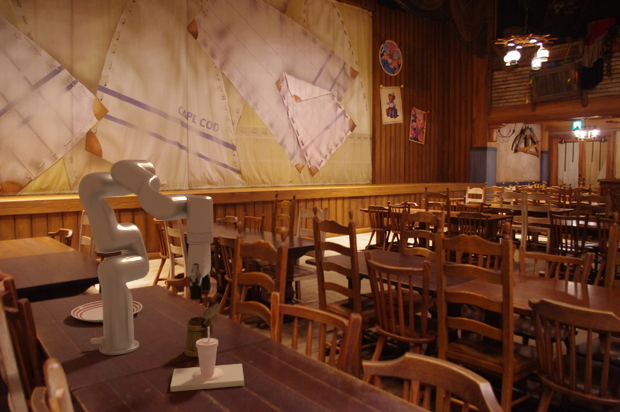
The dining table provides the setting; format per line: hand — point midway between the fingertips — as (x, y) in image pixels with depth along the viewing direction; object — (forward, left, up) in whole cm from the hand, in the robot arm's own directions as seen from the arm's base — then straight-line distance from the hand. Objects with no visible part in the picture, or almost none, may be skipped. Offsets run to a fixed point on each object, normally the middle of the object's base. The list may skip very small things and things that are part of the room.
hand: (200, 294), depth 151 cm
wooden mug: (0, +14, -24) cm, 27 cm away
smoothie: (+2, -7, -22) cm, 23 cm away
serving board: (+2, -7, -23) cm, 24 cm away
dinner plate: (-40, +65, -24) cm, 80 cm away
